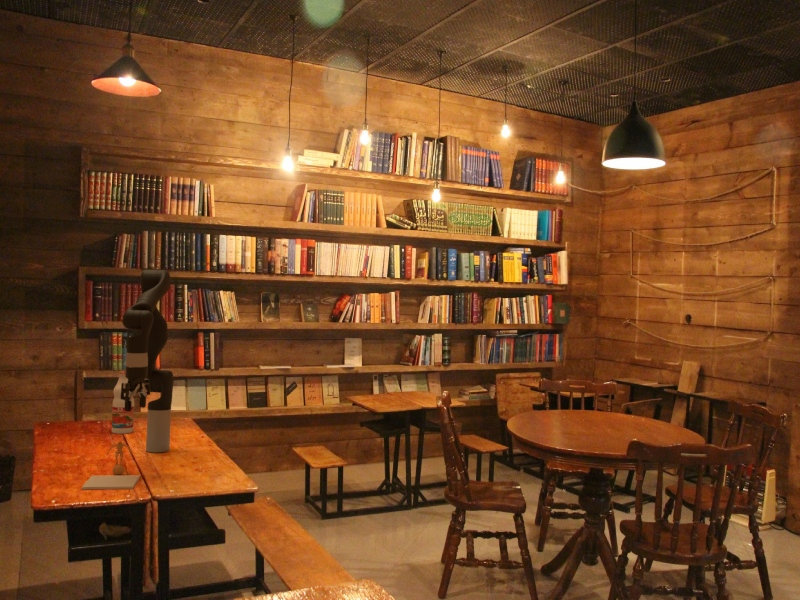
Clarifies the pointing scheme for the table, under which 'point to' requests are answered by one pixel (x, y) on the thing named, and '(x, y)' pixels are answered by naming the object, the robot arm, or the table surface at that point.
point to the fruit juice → (121, 409)
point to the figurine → (118, 468)
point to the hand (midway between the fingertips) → (135, 409)
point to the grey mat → (111, 482)
